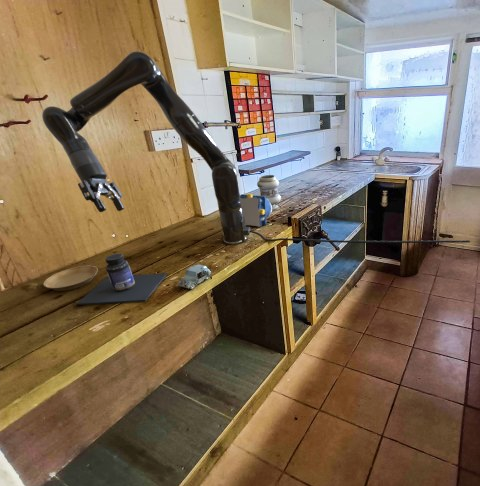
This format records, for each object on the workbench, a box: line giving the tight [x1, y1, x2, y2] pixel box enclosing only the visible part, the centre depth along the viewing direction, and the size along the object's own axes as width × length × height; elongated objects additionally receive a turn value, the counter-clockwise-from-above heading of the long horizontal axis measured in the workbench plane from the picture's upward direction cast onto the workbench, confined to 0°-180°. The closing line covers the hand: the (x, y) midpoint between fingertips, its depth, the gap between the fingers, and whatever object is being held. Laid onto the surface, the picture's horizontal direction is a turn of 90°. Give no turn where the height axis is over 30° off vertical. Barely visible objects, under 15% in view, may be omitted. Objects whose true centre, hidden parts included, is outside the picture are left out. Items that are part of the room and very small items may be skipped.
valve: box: [240, 193, 273, 228], centre depth 153 cm, size 13×15×15 cm
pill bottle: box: [104, 253, 135, 292], centre depth 98 cm, size 6×6×11 cm
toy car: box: [177, 263, 212, 290], centre depth 102 cm, size 6×10×5 cm, turn 155°
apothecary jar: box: [256, 174, 282, 212], centre depth 171 cm, size 12×12×18 cm
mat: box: [76, 273, 168, 306], centre depth 101 cm, size 20×16×1 cm
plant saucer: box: [42, 265, 99, 292], centre depth 105 cm, size 15×15×3 cm
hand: (112, 210), depth 106 cm, fingers open, 8 cm apart
